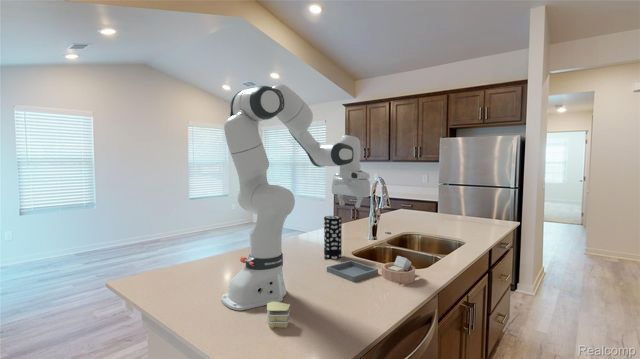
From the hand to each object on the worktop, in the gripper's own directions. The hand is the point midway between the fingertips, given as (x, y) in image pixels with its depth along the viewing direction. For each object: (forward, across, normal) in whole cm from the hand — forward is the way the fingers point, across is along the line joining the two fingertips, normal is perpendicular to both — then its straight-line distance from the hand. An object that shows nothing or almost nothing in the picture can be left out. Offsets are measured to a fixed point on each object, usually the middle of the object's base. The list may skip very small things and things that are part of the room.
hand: (349, 206), depth 141 cm
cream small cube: (+27, +20, +6) cm, 34 cm away
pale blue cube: (+24, +20, +10) cm, 32 cm away
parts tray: (+28, +5, -3) cm, 28 cm away
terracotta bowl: (+28, +20, +8) cm, 35 cm away
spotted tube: (+28, -17, +6) cm, 33 cm away
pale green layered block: (+29, +20, -48) cm, 60 cm away
